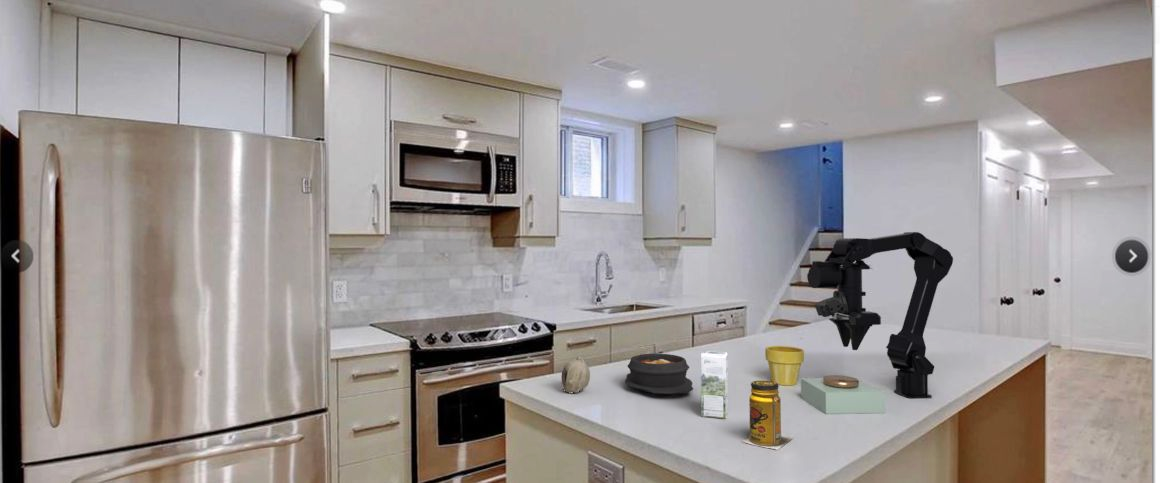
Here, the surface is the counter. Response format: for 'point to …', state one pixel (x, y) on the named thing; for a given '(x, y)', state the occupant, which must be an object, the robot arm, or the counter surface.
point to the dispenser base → (842, 397)
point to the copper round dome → (841, 381)
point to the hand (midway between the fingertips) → (850, 348)
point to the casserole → (659, 374)
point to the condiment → (765, 416)
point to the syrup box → (714, 384)
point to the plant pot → (784, 363)
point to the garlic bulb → (575, 375)
